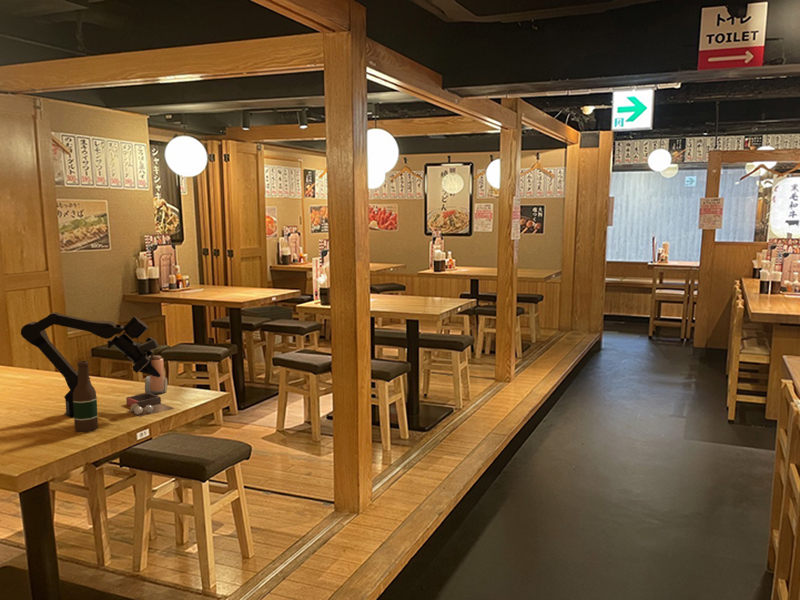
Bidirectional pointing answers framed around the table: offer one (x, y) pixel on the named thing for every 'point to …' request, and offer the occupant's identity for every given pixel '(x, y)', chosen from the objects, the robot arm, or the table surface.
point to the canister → (158, 382)
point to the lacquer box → (144, 400)
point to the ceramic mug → (147, 390)
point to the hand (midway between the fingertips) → (160, 374)
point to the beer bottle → (84, 401)
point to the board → (154, 409)
